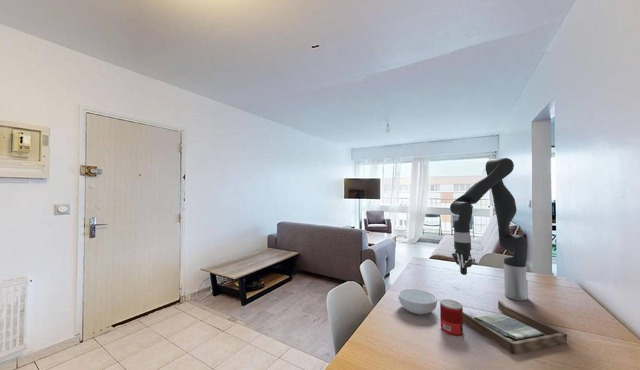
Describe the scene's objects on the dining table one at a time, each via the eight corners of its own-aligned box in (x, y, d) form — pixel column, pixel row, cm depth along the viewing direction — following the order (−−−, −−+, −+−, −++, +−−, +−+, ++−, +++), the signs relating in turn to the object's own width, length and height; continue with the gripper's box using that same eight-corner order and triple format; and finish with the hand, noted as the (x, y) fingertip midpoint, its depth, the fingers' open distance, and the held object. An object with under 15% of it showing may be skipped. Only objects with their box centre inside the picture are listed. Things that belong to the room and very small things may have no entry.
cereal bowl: (434, 305, 119) (434, 291, 119) (439, 322, 104) (439, 306, 104) (398, 300, 125) (398, 286, 125) (398, 316, 109) (398, 300, 109)
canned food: (466, 337, 93) (465, 308, 93) (443, 335, 94) (443, 306, 95) (458, 326, 100) (458, 300, 101) (438, 324, 102) (437, 298, 102)
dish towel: (500, 315, 110) (500, 308, 110) (546, 339, 93) (546, 330, 93) (468, 321, 105) (467, 314, 105) (510, 347, 88) (509, 338, 88)
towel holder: (499, 307, 117) (499, 300, 117) (571, 342, 90) (571, 333, 90) (447, 315, 109) (447, 307, 110) (508, 355, 82) (507, 345, 82)
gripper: (479, 242, 118) (481, 278, 117) (458, 237, 130) (459, 269, 130) (467, 243, 116) (468, 279, 115) (446, 238, 129) (447, 271, 128)
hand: (463, 274), depth 123 cm, fingers closed
